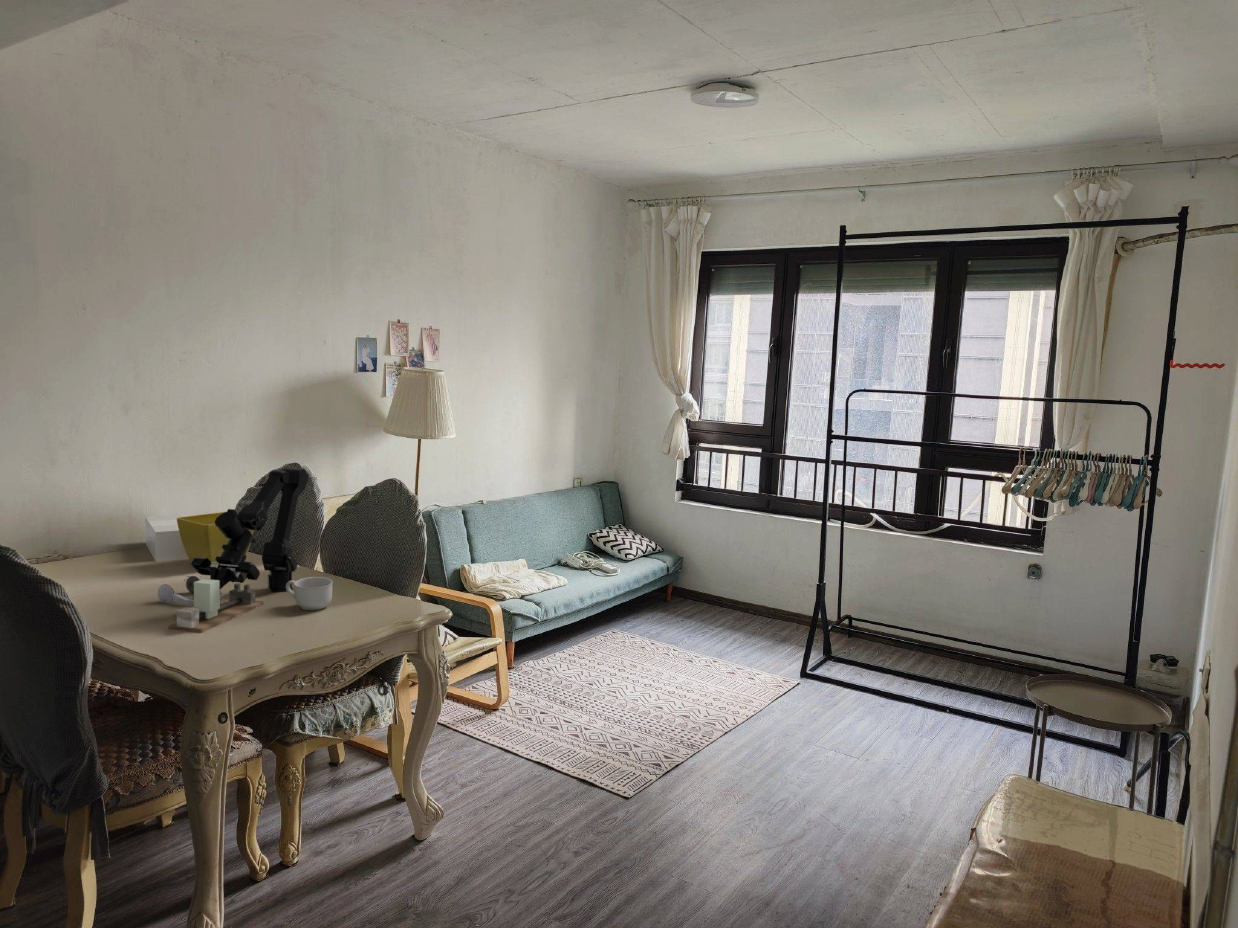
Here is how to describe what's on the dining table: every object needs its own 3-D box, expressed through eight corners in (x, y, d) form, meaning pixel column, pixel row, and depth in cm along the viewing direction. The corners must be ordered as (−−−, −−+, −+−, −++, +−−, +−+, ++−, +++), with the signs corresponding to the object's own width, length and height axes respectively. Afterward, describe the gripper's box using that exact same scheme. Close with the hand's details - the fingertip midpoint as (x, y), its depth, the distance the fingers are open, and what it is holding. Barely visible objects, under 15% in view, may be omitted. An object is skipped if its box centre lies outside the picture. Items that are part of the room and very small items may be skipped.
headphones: (140, 597, 252) (196, 616, 247) (142, 579, 251) (198, 598, 247) (185, 583, 269) (238, 601, 264) (187, 566, 268) (240, 583, 263)
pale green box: (203, 613, 239) (203, 578, 238) (219, 615, 238) (219, 580, 237) (194, 617, 235) (193, 582, 234) (210, 619, 234) (210, 583, 233)
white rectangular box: (145, 544, 325) (145, 516, 324) (176, 541, 331) (176, 514, 330) (155, 561, 299) (155, 531, 298) (189, 559, 305) (189, 529, 304)
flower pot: (175, 564, 296) (175, 517, 294) (227, 555, 312) (227, 510, 310) (205, 573, 286) (205, 524, 284) (257, 564, 301) (257, 517, 299)
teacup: (340, 605, 257) (340, 579, 256) (316, 614, 247) (316, 587, 246) (302, 599, 261) (302, 573, 260) (277, 608, 251) (277, 581, 250)
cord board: (233, 601, 256) (233, 580, 255) (263, 604, 254) (263, 583, 253) (167, 629, 228) (167, 605, 227) (201, 632, 226) (200, 609, 226)
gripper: (276, 565, 252) (254, 611, 242) (220, 559, 255) (196, 605, 246) (261, 544, 243) (237, 591, 234) (202, 539, 247) (177, 585, 237)
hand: (212, 594), depth 238 cm, fingers closed, pressing on pale green box
